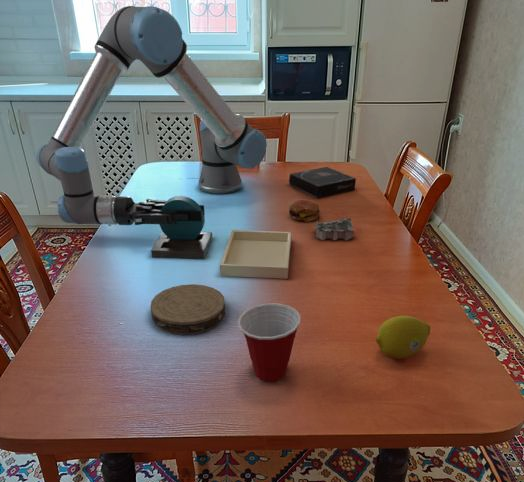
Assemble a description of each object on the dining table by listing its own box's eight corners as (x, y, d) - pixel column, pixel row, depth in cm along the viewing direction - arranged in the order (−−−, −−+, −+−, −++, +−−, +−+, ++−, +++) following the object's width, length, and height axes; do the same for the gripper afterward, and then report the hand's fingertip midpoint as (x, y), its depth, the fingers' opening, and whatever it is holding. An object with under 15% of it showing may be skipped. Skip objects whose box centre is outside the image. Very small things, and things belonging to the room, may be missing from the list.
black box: (324, 177, 183) (325, 166, 181) (354, 190, 172) (355, 178, 169) (288, 184, 176) (289, 173, 174) (317, 198, 165) (317, 186, 162)
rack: (151, 257, 129) (150, 250, 128) (164, 237, 139) (163, 230, 138) (204, 259, 128) (203, 252, 127) (212, 238, 138) (212, 232, 137)
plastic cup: (238, 356, 94) (236, 302, 87) (293, 353, 95) (296, 300, 88) (241, 393, 85) (239, 337, 78) (302, 389, 86) (305, 334, 79)
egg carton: (351, 231, 143) (352, 217, 140) (353, 241, 137) (355, 227, 134) (314, 229, 143) (315, 216, 141) (315, 240, 137) (316, 226, 135)
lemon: (378, 368, 91) (385, 333, 86) (366, 344, 97) (371, 310, 93) (434, 363, 92) (443, 328, 87) (418, 340, 98) (426, 306, 94)
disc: (163, 243, 135) (154, 200, 128) (166, 238, 138) (157, 196, 130) (205, 242, 134) (198, 199, 127) (207, 237, 136) (201, 194, 129)
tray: (232, 240, 138) (231, 229, 136) (291, 242, 137) (291, 231, 135) (220, 276, 120) (219, 265, 119) (287, 278, 119) (287, 267, 117)
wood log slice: (138, 326, 102) (135, 314, 101) (174, 290, 114) (172, 279, 113) (206, 341, 98) (205, 328, 96) (236, 302, 110) (236, 291, 108)
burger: (310, 209, 157) (311, 194, 154) (325, 219, 150) (326, 204, 147) (282, 214, 153) (283, 199, 151) (296, 224, 147) (297, 209, 144)
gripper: (128, 213, 141) (209, 215, 139) (109, 236, 128) (198, 238, 126) (124, 187, 136) (207, 189, 135) (104, 208, 123) (195, 210, 122)
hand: (202, 213), depth 130 cm, fingers closed on disc, 3 cm apart
